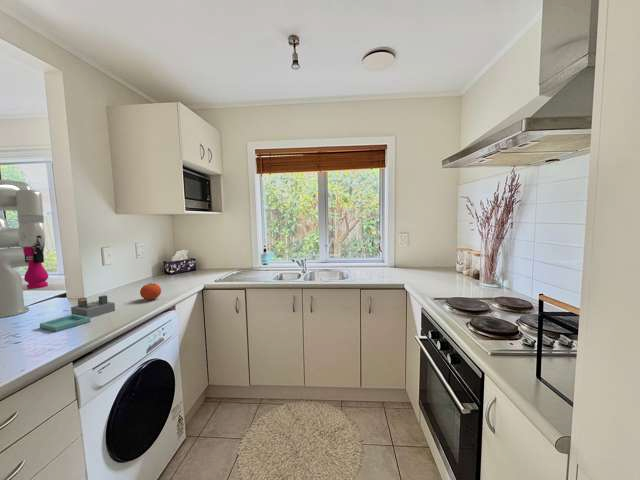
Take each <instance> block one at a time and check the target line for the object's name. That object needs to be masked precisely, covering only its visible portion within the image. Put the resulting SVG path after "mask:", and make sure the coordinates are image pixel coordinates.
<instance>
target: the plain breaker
mask: <svg viewBox="0 0 640 480" xmlns="http://www.w3.org/2000/svg"><path fill="white" fill-rule="evenodd" d="M98 300H99V304H105V303H108V302H109V301H108V295H106V294H104V295H100V296H98Z"/></svg>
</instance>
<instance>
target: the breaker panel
mask: <svg viewBox="0 0 640 480" xmlns="http://www.w3.org/2000/svg"><path fill="white" fill-rule="evenodd" d="M70 310H71V313H70V314H71V315H73V314H75V315H80V316H85V317H90V319H91V318H94V317H98V316H102V315H105V314H108V313H111V312H115V311H116V305H115V302H112V301H108V303H105V304H99V299H98V300H94V301H91V302H87V306H83V307H80V306H78V305H75V306H71V308H70Z"/></svg>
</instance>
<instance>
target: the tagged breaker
mask: <svg viewBox="0 0 640 480" xmlns="http://www.w3.org/2000/svg"><path fill="white" fill-rule="evenodd" d="M87 303H88V297H80V298H77V306H80V307H83V306H87Z"/></svg>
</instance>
